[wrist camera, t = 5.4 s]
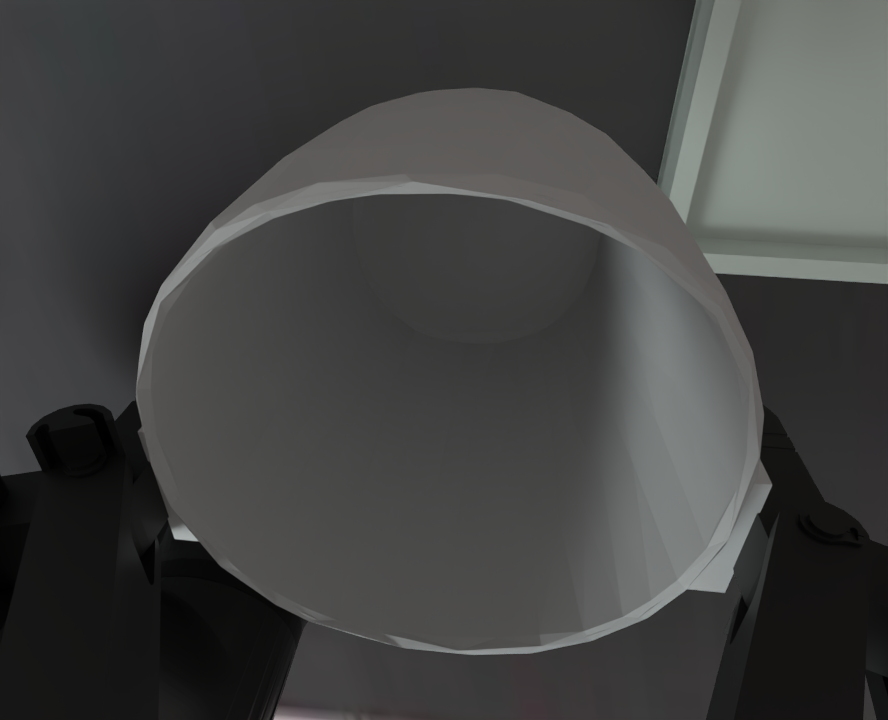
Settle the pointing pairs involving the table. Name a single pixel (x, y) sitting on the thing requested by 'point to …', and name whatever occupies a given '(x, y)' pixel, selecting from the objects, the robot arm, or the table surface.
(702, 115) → the tray
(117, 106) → the table surface
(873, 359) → the table surface
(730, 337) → the mug
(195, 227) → the table surface
